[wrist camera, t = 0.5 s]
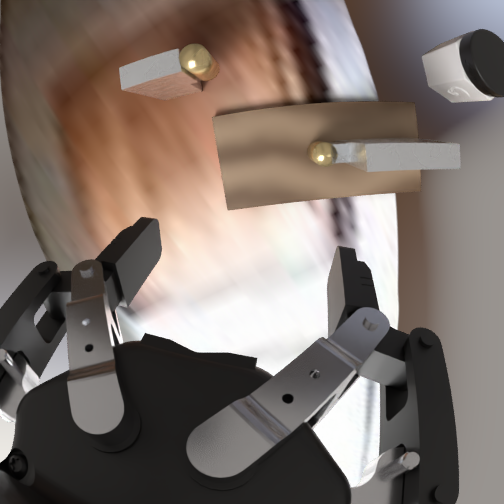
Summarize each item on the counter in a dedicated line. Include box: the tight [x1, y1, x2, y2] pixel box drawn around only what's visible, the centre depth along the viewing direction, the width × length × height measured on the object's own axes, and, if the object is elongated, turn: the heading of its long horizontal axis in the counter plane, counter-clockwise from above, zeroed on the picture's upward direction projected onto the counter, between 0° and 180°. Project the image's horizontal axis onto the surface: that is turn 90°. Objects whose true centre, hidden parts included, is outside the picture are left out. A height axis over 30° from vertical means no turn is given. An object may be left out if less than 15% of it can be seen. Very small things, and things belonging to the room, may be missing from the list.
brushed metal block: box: [119, 44, 219, 100], centre depth 27 cm, size 8×3×12 cm, turn 98°
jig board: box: [212, 101, 421, 210], centre depth 34 cm, size 12×26×1 cm, turn 98°
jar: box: [422, 29, 504, 103], centre depth 23 cm, size 9×8×12 cm
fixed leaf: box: [307, 138, 460, 172], centre depth 27 cm, size 3×14×12 cm, turn 98°
